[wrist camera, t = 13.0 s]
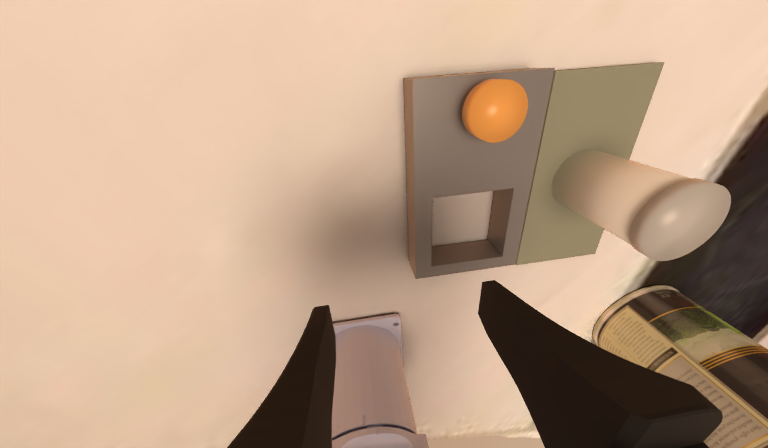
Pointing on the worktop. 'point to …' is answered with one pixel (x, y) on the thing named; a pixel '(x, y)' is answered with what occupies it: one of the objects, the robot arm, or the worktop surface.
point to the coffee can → (694, 357)
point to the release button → (495, 109)
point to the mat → (577, 133)
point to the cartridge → (642, 202)
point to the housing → (468, 167)
